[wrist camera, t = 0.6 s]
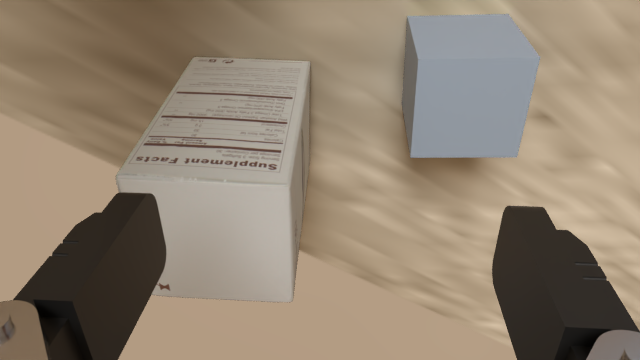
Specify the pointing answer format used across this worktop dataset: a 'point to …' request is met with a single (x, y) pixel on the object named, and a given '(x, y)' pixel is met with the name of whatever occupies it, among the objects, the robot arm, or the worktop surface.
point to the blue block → (466, 85)
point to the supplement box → (228, 177)
